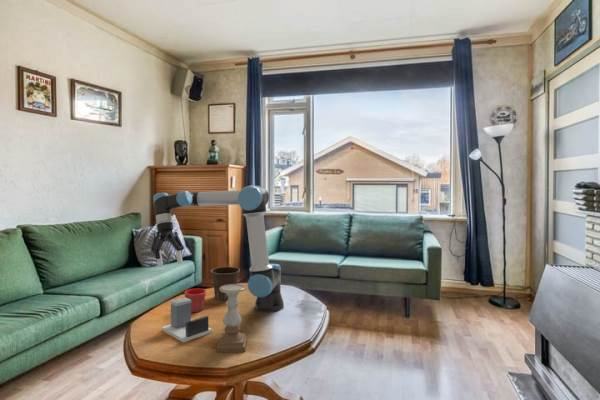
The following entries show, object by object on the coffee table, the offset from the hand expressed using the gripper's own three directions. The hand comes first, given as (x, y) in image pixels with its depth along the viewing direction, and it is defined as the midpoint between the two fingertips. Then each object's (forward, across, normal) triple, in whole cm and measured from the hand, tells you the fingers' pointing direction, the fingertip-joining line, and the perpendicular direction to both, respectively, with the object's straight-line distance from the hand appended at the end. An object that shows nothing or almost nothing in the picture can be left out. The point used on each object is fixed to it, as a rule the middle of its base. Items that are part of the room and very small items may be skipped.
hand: (170, 264), depth 178 cm
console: (+32, +11, +14) cm, 36 cm away
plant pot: (+23, -35, +3) cm, 42 cm away
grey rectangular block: (+28, +10, +10) cm, 32 cm away
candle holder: (+40, +15, +39) cm, 58 cm away
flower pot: (+25, -12, 0) cm, 28 cm away
